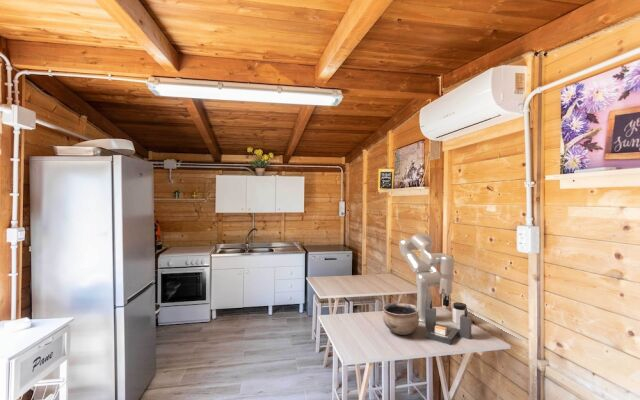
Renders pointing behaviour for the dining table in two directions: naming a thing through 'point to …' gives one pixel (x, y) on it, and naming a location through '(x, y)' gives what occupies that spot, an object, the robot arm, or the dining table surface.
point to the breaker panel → (447, 339)
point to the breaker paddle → (440, 330)
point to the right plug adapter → (465, 325)
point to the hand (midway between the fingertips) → (445, 305)
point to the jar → (458, 311)
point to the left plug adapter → (430, 316)
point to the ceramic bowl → (401, 317)
